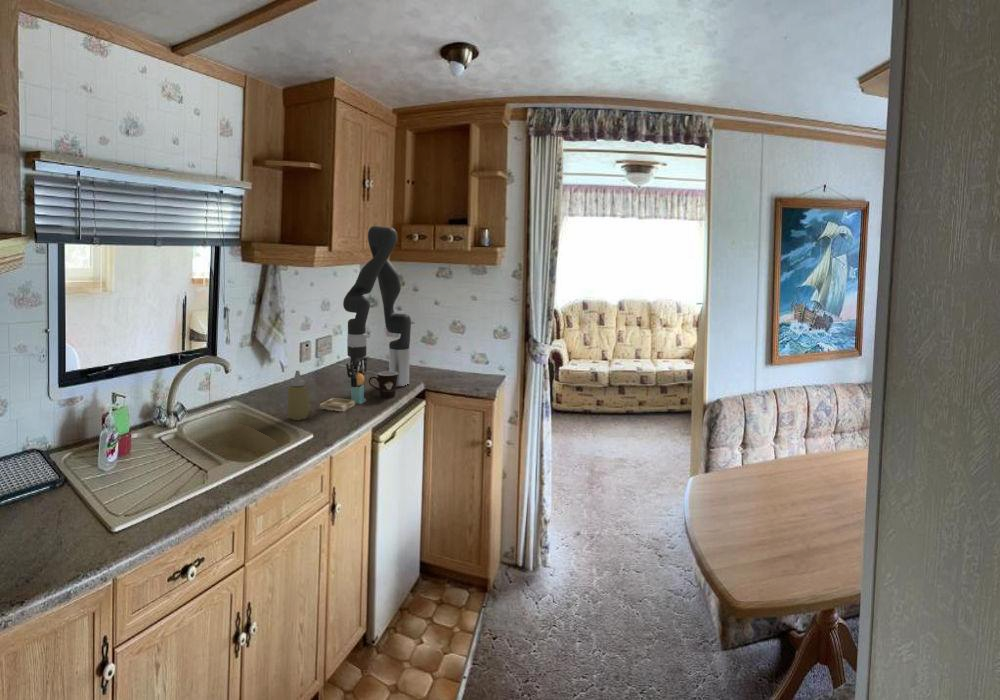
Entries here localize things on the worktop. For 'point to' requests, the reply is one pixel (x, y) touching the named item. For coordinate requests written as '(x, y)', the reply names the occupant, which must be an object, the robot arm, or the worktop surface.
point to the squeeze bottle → (298, 399)
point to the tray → (337, 404)
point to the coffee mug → (386, 383)
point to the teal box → (358, 394)
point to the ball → (359, 379)
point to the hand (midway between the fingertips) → (357, 384)
